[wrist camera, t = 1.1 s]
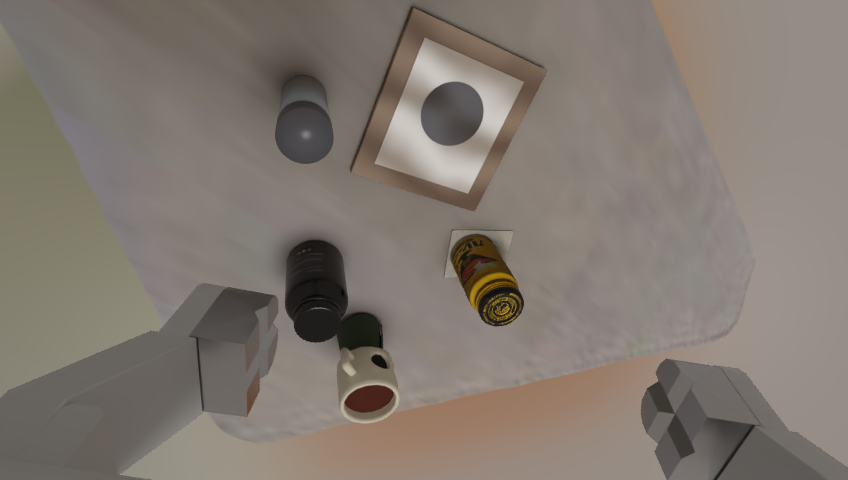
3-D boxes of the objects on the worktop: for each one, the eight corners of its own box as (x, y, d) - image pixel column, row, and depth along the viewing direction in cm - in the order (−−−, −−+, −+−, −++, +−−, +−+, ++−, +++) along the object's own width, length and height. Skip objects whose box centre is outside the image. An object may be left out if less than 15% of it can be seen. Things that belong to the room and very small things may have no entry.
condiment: (451, 229, 61) (480, 285, 52) (513, 230, 64) (552, 284, 54) (443, 276, 65) (468, 337, 55) (502, 275, 67) (536, 333, 57)
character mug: (400, 340, 69) (418, 413, 59) (357, 363, 70) (367, 440, 59) (361, 291, 63) (373, 363, 53) (315, 316, 64) (317, 393, 53)
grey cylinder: (288, 67, 47) (284, 100, 37) (333, 84, 49) (341, 120, 39) (275, 110, 49) (268, 153, 39) (319, 125, 51) (323, 170, 41)
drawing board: (411, 6, 47) (414, 8, 46) (543, 68, 53) (548, 71, 52) (350, 169, 54) (351, 174, 53) (472, 207, 60) (475, 212, 59)
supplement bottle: (351, 272, 62) (360, 336, 52) (301, 292, 62) (301, 360, 52) (329, 230, 58) (335, 290, 48) (276, 251, 58) (270, 315, 48)
